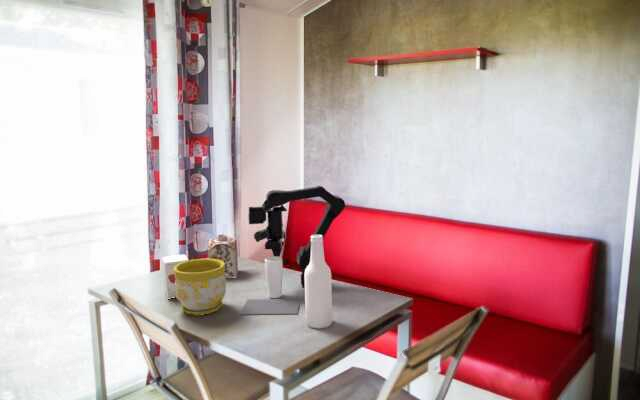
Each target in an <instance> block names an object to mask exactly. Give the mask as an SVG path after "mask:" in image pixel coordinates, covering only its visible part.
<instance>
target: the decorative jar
mask: <svg viewBox="0 0 640 400" xmlns="http://www.w3.org/2000/svg"><path fill="white" fill-rule="evenodd" d="M237 248H238V247H237V240H236V239H235V238H233V237H230V236H228V235H227V234H223V233H222V234H217V235H216V237H215V238H211V239H209V241H208V246H207V252H208V254H207V255H208V257H207V259H217V260H221V261H223V262H224V263H225V268H224V270H225V272H224V275H225V278H229V277H237V278H238V272H239V265H238V250H237ZM229 279H230V278H229Z"/></svg>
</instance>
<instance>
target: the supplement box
mask: <svg viewBox="0 0 640 400" xmlns="http://www.w3.org/2000/svg"><path fill="white" fill-rule="evenodd" d="M161 260H162V272H163V273H162V274H163V287H164V288H163V290H164V294H166V295H165V296H167V297H166V299H167V298H172V297H177V296H176V291H175V281H176V278H175V274H176V273H175V272H174V267H175V266H176V265H178V264H180V263H182V262H185V261H189V259H188V256H186V254H184V253H183V254H178V255H177V254H176V255H170V256H169V255H168V256H163V257H162V258H161Z"/></svg>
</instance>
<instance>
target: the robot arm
mask: <svg viewBox="0 0 640 400" xmlns="http://www.w3.org/2000/svg"><path fill="white" fill-rule="evenodd" d="M318 197H319V198H321V199H322V200H324V201H325V202H326V204H325V209H324V214H323V216H322V218H321V220H320V222H319V224H318V225H317V227H316V228H315V230H314V232H313V233H312V235H322V236H323V239H324V238H325V236H326V235H327V233H328V231H329V230H330V227H331V226H332V224H333V222H334V220H335V219H336V218H337V217H338V216H340V215H341V214H342V212H343V211H344V210H345V207H346V202H345V200H344V198H342V197H340V196H338V195H333V194H332V193H331V192H329V191H328V190H327V189H326V188H325V187H324V186H322V185H317V186H312V187H307V188H305V187H304V188H302V189H301V188H300V189H294V190H280V189H278V190H277V189H276V190H275V189H273V190H270V191H268V192H267V193H266V196H265V200H264V202H263V203H262V205H261V206H248V214H247V217H248V225H258V224H259V225H261V224H264V223H266V221H267V226H266V228H264V229H261V230H258V231H255V233H254V234H253V239H254V241H256V243H259V242H260V241H263V240H266V241H265V243H264V250H271V251H272V255H273V256H277V257H281V254H282V251H283V247H284V246H285V241H282V240H283V239H284V240H286V239H287V233H286V232H285V231H283V230H284V229H283V227H284V223H283V212H287V211H288V210H287V208H286V207H285V206H284V205H285V204H288V203H290V202H294V201H300V200H307V199H313V198H318ZM310 256H311V239H310V240H309V241H308V243H307V245H305V246H304V247H303V246H302V245H301V246H300V249H299V251H298V252H297V253H296V262H297V264H298V265H299V267H300V268H301V269H302V272H301V273H300V285H301V287H302V288H303V289H305V280H304V273H305V269H306V267H307V266H308V265H309V263H310Z"/></svg>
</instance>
